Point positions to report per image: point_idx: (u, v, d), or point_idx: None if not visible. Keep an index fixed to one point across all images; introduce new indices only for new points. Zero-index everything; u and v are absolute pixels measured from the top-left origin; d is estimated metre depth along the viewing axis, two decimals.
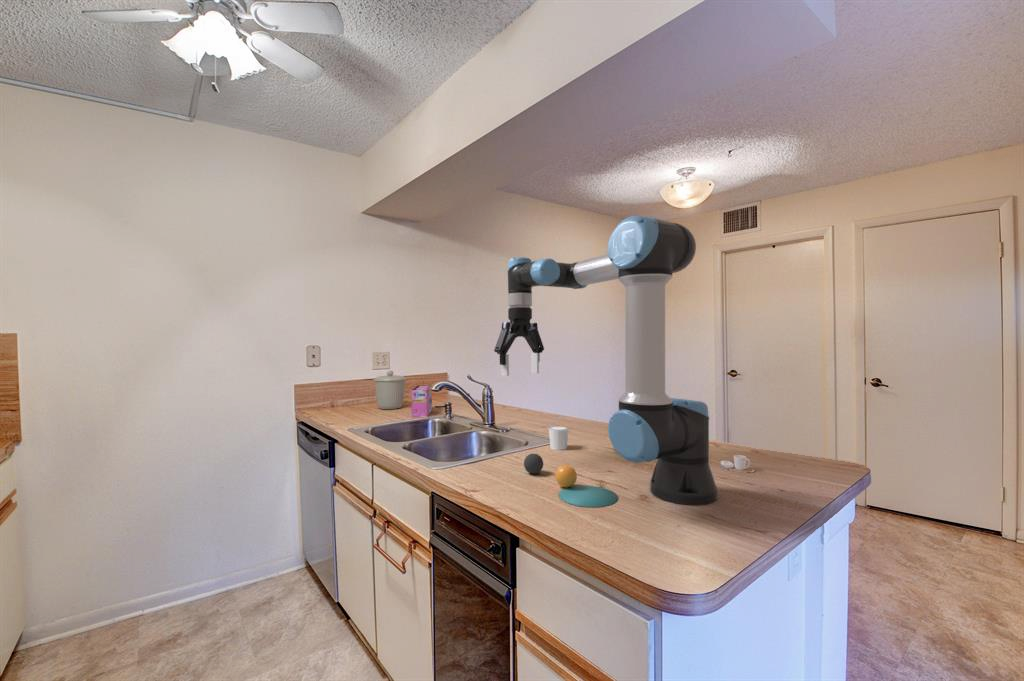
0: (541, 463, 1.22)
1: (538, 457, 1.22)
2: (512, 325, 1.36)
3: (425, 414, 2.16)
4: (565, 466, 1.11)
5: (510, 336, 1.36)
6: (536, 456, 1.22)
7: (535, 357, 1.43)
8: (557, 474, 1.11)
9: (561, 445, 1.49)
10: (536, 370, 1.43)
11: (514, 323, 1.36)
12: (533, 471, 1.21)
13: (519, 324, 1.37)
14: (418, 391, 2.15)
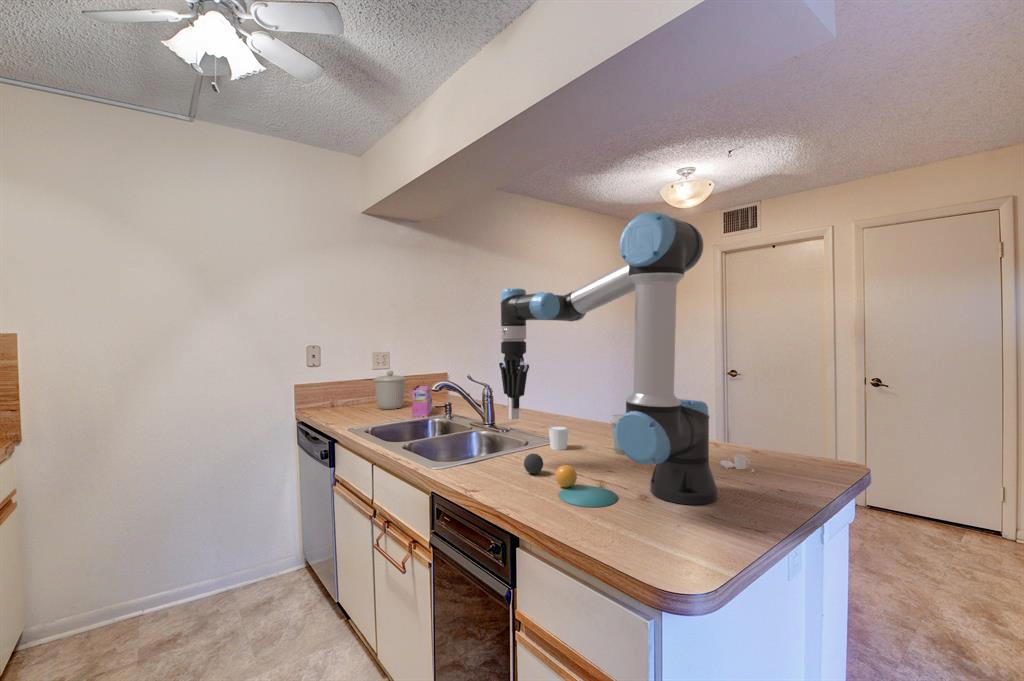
0: (541, 463, 1.22)
1: (538, 457, 1.22)
2: (523, 360, 1.28)
3: (426, 414, 2.16)
4: (565, 466, 1.11)
5: (517, 376, 1.30)
6: (536, 456, 1.22)
7: None
8: (557, 474, 1.11)
9: (561, 445, 1.49)
10: None
11: None
12: (533, 471, 1.21)
13: None
14: (419, 391, 2.15)
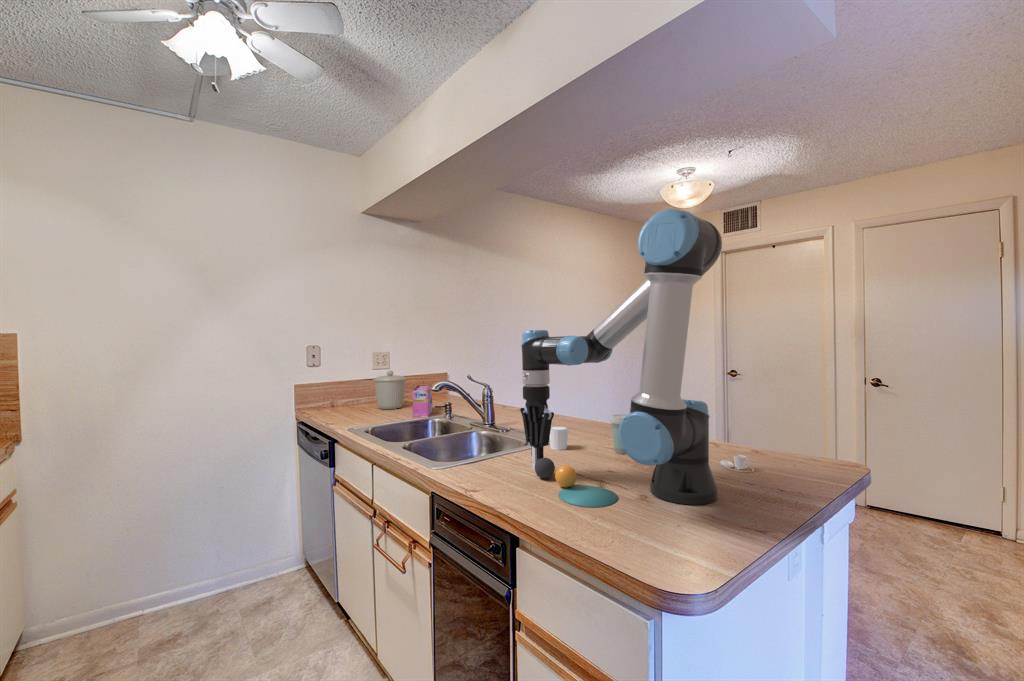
0: None
1: (551, 475, 1.18)
2: (547, 407, 1.19)
3: (426, 414, 2.16)
4: (565, 466, 1.11)
5: (541, 424, 1.21)
6: (550, 474, 1.17)
7: None
8: (557, 474, 1.11)
9: (561, 445, 1.49)
10: None
11: None
12: None
13: None
14: (419, 391, 2.15)
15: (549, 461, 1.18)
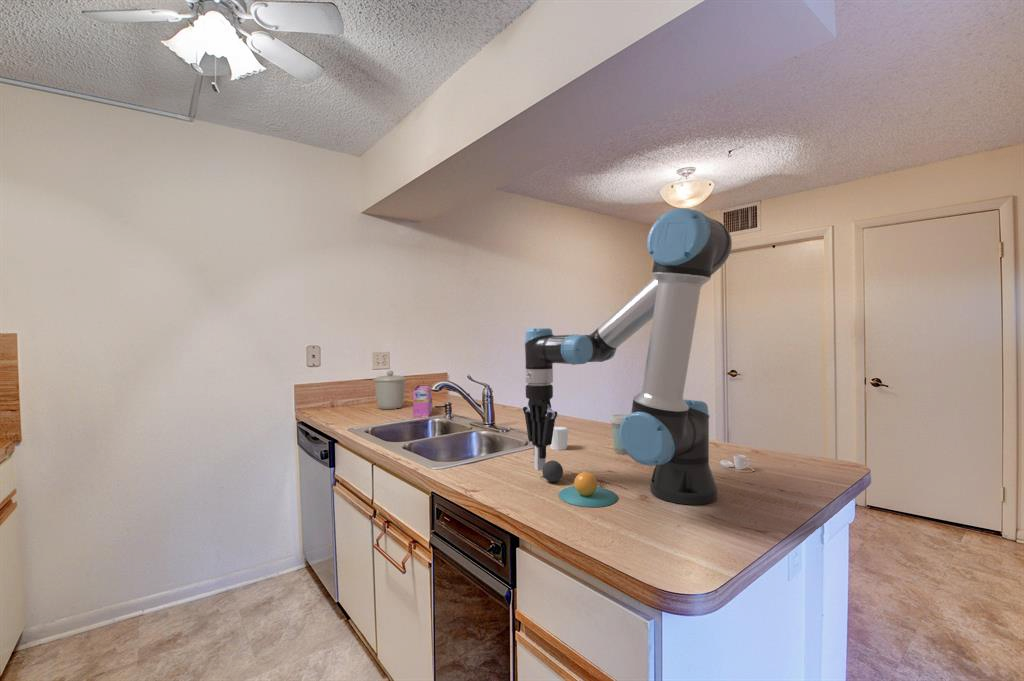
0: None
1: None
2: (550, 406, 1.18)
3: (427, 414, 2.16)
4: (587, 495, 1.05)
5: (544, 423, 1.20)
6: None
7: None
8: (579, 489, 1.04)
9: (561, 445, 1.49)
10: (542, 465, 1.22)
11: None
12: None
13: None
14: (420, 391, 2.15)
15: (559, 476, 1.14)
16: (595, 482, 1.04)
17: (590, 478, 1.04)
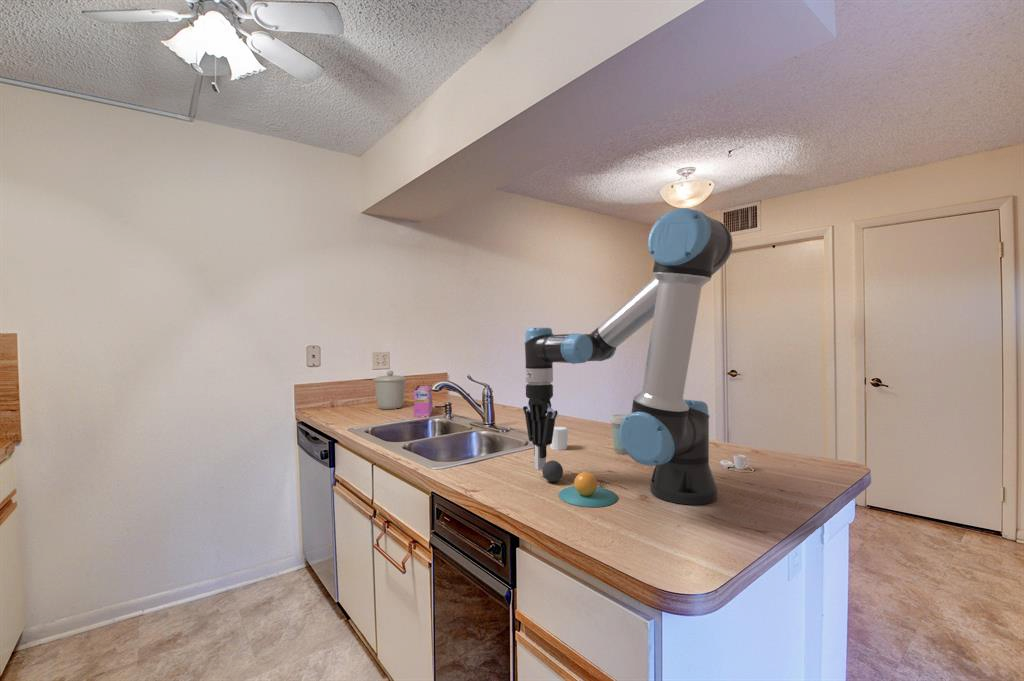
0: None
1: None
2: None
3: (427, 414, 2.15)
4: (587, 495, 1.05)
5: (544, 422, 1.20)
6: None
7: None
8: (579, 489, 1.04)
9: (561, 445, 1.49)
10: None
11: None
12: None
13: None
14: (420, 391, 2.15)
15: (559, 476, 1.14)
16: (595, 482, 1.04)
17: (590, 478, 1.04)
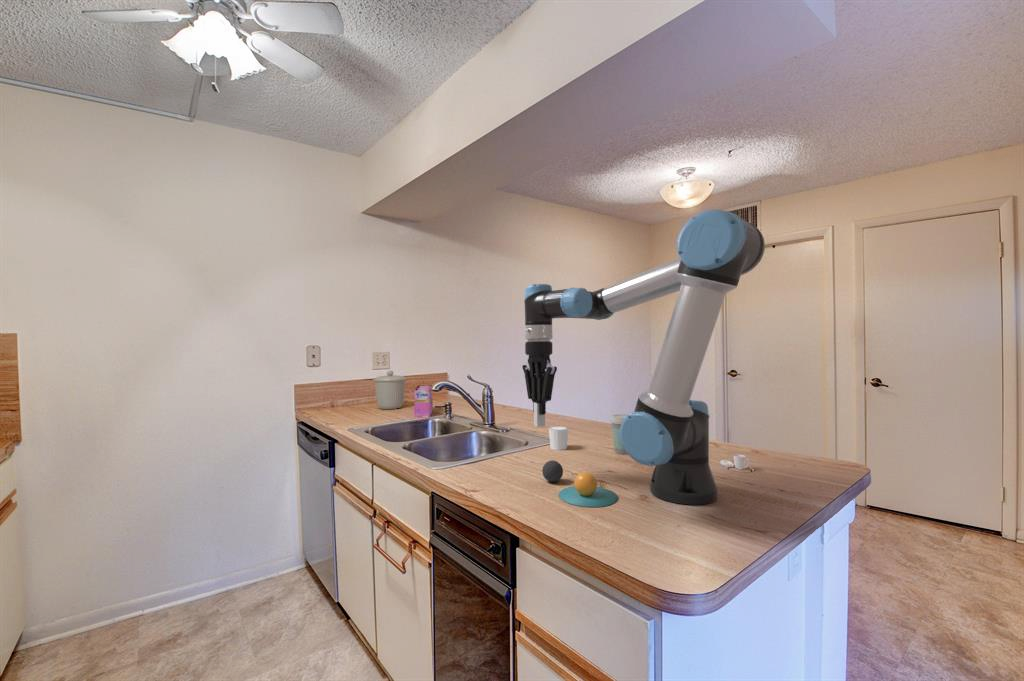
0: None
1: None
2: (550, 362, 1.18)
3: (428, 414, 2.15)
4: (587, 495, 1.05)
5: (543, 379, 1.20)
6: None
7: None
8: (579, 489, 1.04)
9: (561, 445, 1.49)
10: None
11: None
12: None
13: None
14: (421, 391, 2.15)
15: (559, 476, 1.14)
16: (595, 482, 1.04)
17: (590, 478, 1.04)
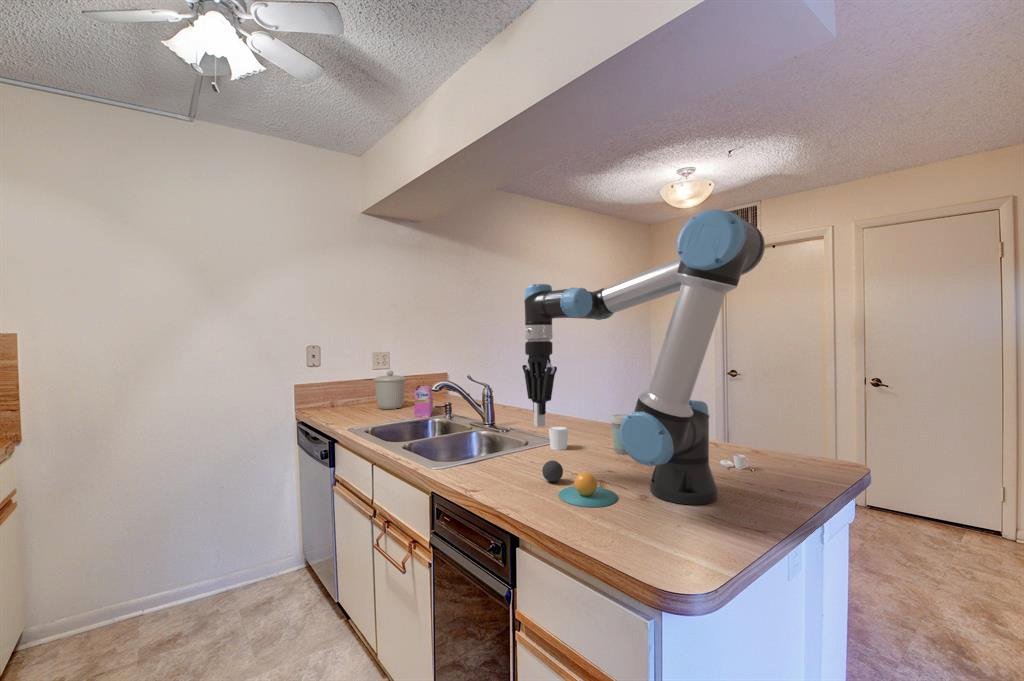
0: None
1: None
2: (550, 362, 1.18)
3: (428, 414, 2.15)
4: (587, 495, 1.05)
5: (543, 379, 1.20)
6: None
7: None
8: (579, 489, 1.04)
9: (561, 445, 1.49)
10: None
11: None
12: None
13: None
14: (421, 391, 2.15)
15: (559, 476, 1.14)
16: (595, 482, 1.04)
17: (590, 478, 1.04)
